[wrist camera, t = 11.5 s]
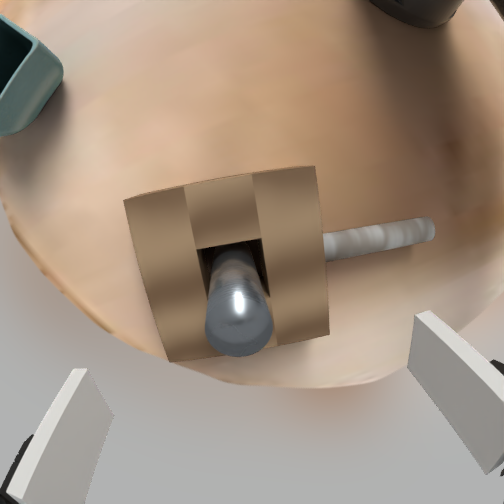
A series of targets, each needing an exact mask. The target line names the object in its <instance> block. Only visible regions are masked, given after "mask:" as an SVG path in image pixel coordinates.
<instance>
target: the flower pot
mask: <svg viewBox="0 0 504 504" xmlns="http://www.w3.org/2000/svg"><path fill="white" fill-rule="evenodd" d="M62 78H63V66H62V64H61V62H60V60H59V59H58V58H57V57H56V56H55V55H54V54H53V53H52V52H51V51H50V50H49V49H48V48H47V47H46V46H45V45H44V44H42V43H41V42H40V41H39V40H38V39H37V38H35V37H34V36H32V35H31V34H29V33H28V32H26V31H25V30H23V29H22V28H20V27H19V26H17V25H16V24H15V23H13V22H12V21H10V20H9V19H8V18H6V17H5V16H4V15H2V14H0V137H1V136H7V135H12V134H15V133H17V132H19V131H21V130H23V129H24V128H26V127H27V126H28V125H29V124H30V123H32V122H33V121H34V120H35V119H36V117H37V116H38V115H39V113H40V111H41V110H42V108H43V107H44V105H45V104H46V102H47V101H48V99H49V98H50V97H51V95H52V94H53V92H54V91H55V90H56V88H57V87H58V86H59V84H60V83H61V81H62Z"/></svg>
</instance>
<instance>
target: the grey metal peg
mask: <svg viewBox="0 0 504 504" xmlns="http://www.w3.org/2000/svg"><path fill="white" fill-rule="evenodd" d="M272 332H273V323H272V319H271V315H270V312H269V309H268V305H267V302H266V299H265V296H264V292H263V289H262V286H261V283H260V279H259V276H258V273H257V270H256V266H255V263H254V260H253V257H252V253H251V250H250V248H249V246H248V244H247V243H246V242H245V241H241V242H235V243H230V244H224V245H218V246H216V248H215V250H214V255H213V263H212V270H211V278H210V286H209V294H208V303H207V311H206V320H205V334H206V337H207V340H208V342H209V343H210V344H211V346H212V347H213V348H215V349H216V350H217V351H219V352H220V353H223V354H225V355H228V356H233V357H243V356H248V355H251V354H254V353H256V352H258V351H259V350H261V349H262V348H263V347H264V346H265V345H266V344H267V343H268V342H269V340H270V338H271V335H272Z"/></svg>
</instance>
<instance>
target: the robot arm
mask: <svg viewBox="0 0 504 504" xmlns="http://www.w3.org/2000/svg"><path fill="white" fill-rule="evenodd" d="M370 1H371V2H372V3H374V4H375V5H376V6H378V7H379V8H380V9H382V10H383V11H385V12H386V13H388V14H389V15H391V16H393V17H395V18H397V19H399V20H401V21H403V22H405V23H407V24H410V25H413V26H417V27H421V28H434V27H437V26H439V25H441V24H443V23H445V22H447V21H449V20H450V19H451V18H452V17H453V16H454V14H455V12H456V11H457V9H458V7H459V6H460V5H461V3H462V2H463V1H464V0H370ZM490 2H491V3H492V5H493V6H494V7H495V9H496V10H497V12H498V13H499V15H500V16H501V18H502V19H503V21H504V0H490ZM407 368H408V369H409V370H410V372H411V373H412V374H413V376H414V377H415V378H416V379H417V381H418V382H419V383H420V385H421V386H422V387H423V388H424V390H425V391H426V392H427V394H428V395H429V396H430V398H431V399H432V400H433V401H434V403H435V404H436V406H437V407H438V408H439V410H440V411H441V412H442V414H443V415H444V416H445V418H446V419H447V420H448V422H449V423H450V425H451V426H452V427H453V428H454V430H455V431H456V433H457V434H458V435H459V437H460V438H461V440H462V441H463V443H464V444H465V445H466V447H467V448H468V450H469V451H470V453H471V454H472V455H473V457H474V458H475V460H476V461H477V463H478V464H479V465H480V467H481V469H482V470H483V472H484V473H485V474H486V475H487V474H488V473H490V472H491V471H493V470H494V469H495V468H497V467H498V466H499V465H501V464H502V463H503V461H504V364H503V363H501V362H498V361H496V360H492V361H490V362H489V361H487V360H486V359H485V358H484V357H483V356H482V355H481V354H480V353H479V352H478V351H476V350H475V349H474V348H473V347H472V346H471V345H470V344H469V343H468V342H466V341H465V340H464V339H463V338H462V337H461V336H460V335H458V334H457V333H456V332H455V331H454V330H453V329H452V328H450V327H449V326H448V325H447V324H446V323H444V322H443V321H442V320H441V319H440V318H439V317H437V316H436V315H435V314H434V313H433V312H431V311H430V310H428V311H425V312H422V313H419V314H416V315H415V318H414V326H413V334H412V341H411V348H410V354H409V360H408V366H407ZM113 417H114V414H113V413H112V411H111V410H110V408H109V406H108V404H107V403H106V401H105V399H104V398H103V396H102V394H101V393H100V391H99V389H98V387H97V385H96V383H95V381H94V380H93V378H92V376H91V374H90V372H89V370H88V369H73V370H72V372H71V374H70V376H69V377H68V379H67V380H66V382H65V383H64V385H63V386H62V388H61V390H60V391H59V393H58V395H57V396H56V398H55V400H54V401H53V403H52V405H51V406H50V408H49V410H48V412H47V413H46V415H45V417H44V419H43V420H42V422H41V424H40V426H39V427H38V429H37V431H36V433H35V435H31V436H30V437H29V438H28V439H27V440H26V441H25V442H24V443H23V445H22V447H21V449H20V450H19V452H18V453H19V454H18V455H17V456H16V458H15V462H13V464H12V466H11V468H10V470H9V472H8V474H7V476H6V478H5V480H4V482H3V484H2V487H1V488H0V504H84V503H85V499H86V496H87V493H88V490H89V486H90V483H91V480H92V477H93V474H94V471H95V467H96V465H97V461H98V459H99V455H100V453H101V450H102V447H103V444H104V441H105V439H106V436H107V433H108V430H109V427H110V425H111V422H112V419H113ZM503 475H504V469H503V470H502V472H501V475H500V476H503Z"/></svg>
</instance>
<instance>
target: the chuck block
mask: <svg viewBox="0 0 504 504" xmlns="http://www.w3.org/2000/svg"><path fill="white" fill-rule="evenodd" d="M123 201H124V206H125V210H126V215H127V220H128V224H129V228H130V233H131V237H132V241H133V245H134V249H135V253H136V257H137V261H138V265H139V268H140V272H141V276H142V279H143V283H144V286H145V290H146V293H147V296H148V300H149V303H150V306H151V310H152V313H153V316H154V319H155V322H156V325H157V328H158V331H159V334H160V337H161V340H162V343H163V346H164V348H165V351H166V354H167V357H168V360H169V362H178V361H186V360H195V359H202V358H209V357H216V356H223V355H225V354H223V353H220V352H219V351H217V350H216V349H215V348H213V347H212V346H211V344H210V343H209V342H208V340H207V337H206V334H205V320H206V311H207V303H208V294H209V286H210V275H209V270H208V265H207V260H206V256H205V251H204V248H207V247H213V246H218V245H224V244H230V243H235V242H241V241H247V240H253V239H257V242H258V249H259V255H260V261H261V268H262V274H263V276H259V279H260V283H261V286H262V289H263V292H264V296H265V299H266V302H267V305H268V309H269V312H270V315H271V319H272V323H273V332H272V335H271V338H270V340H269V342H268V343H267V344H266V345H265V346H264V347H263V348H262V349H265V348H270V347H275V346H280V345H285V344H290V343H295V342H300V341H304V340H309V339H313V338H318V337H322V336H326V335H330V330H329V308H328V291H327V276H326V263H325V262H329V261H334V260H339V259H344V258H349V257H354V256H359V255H364V254H369V253H374V252H379V251H384V250H389V249H393V248H398V247H403V246H408V245H412V244H417V243H422V242H426V241H431V240H432V239H433V238H434V236H435V226H434V223H433V221H432V219H431V218H430V217H428V216H426V217H419V218H413V219H407V220H401V221H395V222H390V223H384V224H378V225H372V226H366V227H360V228H354V229H348V230H342V231H336V232H331V233H325V234H323V230H322V220H321V211H320V202H319V193H318V185H317V178H316V170H315V166H296V167H288V168H281V169H274V170H267V171H260V172H253V173H247V174H241V175H235V176H229V177H223V178H217V179H212V180H207V181H201V182H196V183H191V184H186V185H181V186H176V187H171V188H167V189H162V190H157V191H153V192H148V193H144V194H140V195H137V196H134V197H131V198H128V199H125V200H123Z"/></svg>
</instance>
